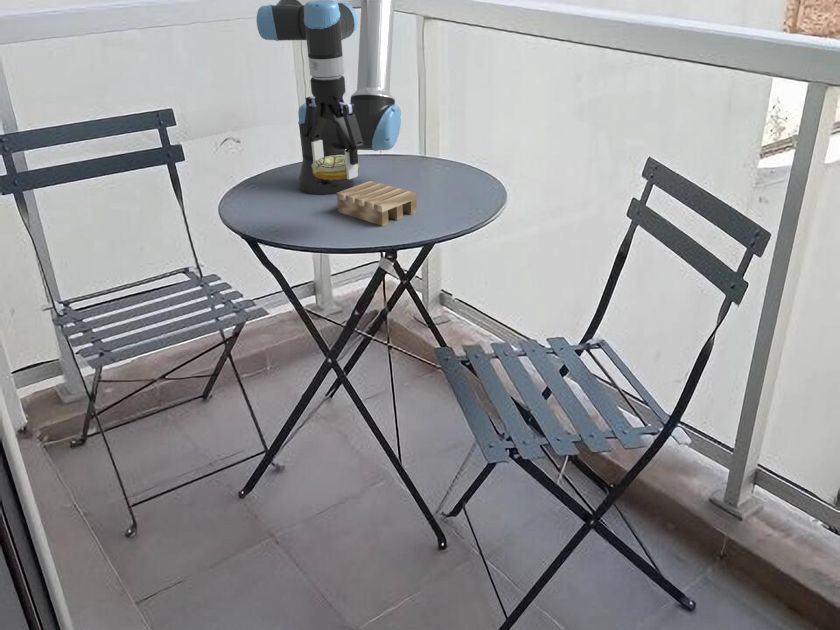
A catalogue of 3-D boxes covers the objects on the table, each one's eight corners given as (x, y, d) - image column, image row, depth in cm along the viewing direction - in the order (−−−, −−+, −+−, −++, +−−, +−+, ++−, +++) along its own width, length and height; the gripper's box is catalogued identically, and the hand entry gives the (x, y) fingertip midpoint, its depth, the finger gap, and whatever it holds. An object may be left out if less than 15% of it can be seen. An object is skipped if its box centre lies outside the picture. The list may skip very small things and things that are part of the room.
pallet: (338, 211, 206) (336, 192, 203) (372, 199, 213) (371, 180, 211) (382, 226, 196) (381, 206, 194) (416, 212, 204) (416, 193, 201)
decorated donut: (315, 168, 194) (314, 153, 192) (360, 167, 194) (359, 151, 192) (310, 182, 185) (308, 166, 183) (357, 181, 185) (356, 164, 183)
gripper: (280, 73, 184) (291, 167, 194) (350, 86, 169) (358, 187, 180) (306, 67, 188) (315, 159, 199) (376, 79, 174) (382, 178, 184)
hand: (335, 172), depth 189 cm, fingers closed on decorated donut, 11 cm apart
